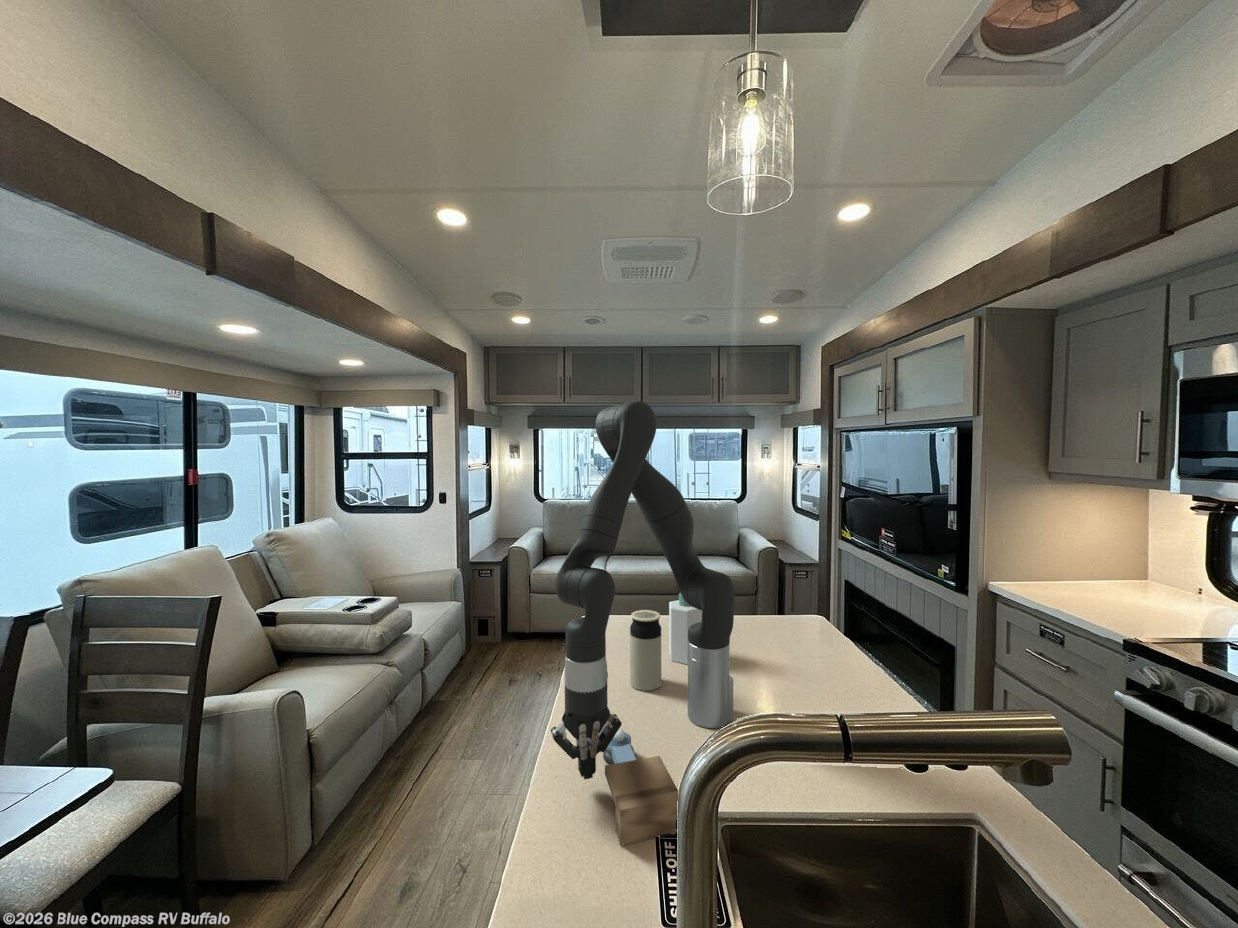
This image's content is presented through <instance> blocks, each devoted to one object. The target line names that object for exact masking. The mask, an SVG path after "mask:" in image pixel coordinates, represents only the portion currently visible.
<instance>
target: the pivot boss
mask: <svg viewBox="0 0 1238 928" xmlns="http://www.w3.org/2000/svg"><path fill="white" fill-rule="evenodd" d="M631 748H632V751H633V753H634V754H635V751H634V747H633V745H632V744H631ZM602 754H603V755H602V757H603V761H605V763H606V764H607V765H610V764H614V761H613V758H612V756H611V755H609V754H608V753H607V752H606V750H605V751H604V752H602Z"/></svg>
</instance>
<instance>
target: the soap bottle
mask: <svg viewBox="0 0 1238 928" xmlns="http://www.w3.org/2000/svg"><path fill="white" fill-rule="evenodd" d="M701 621H702V611H701V610H699V609H697V608H694V607H692V606H690V605H689V604H688V603H687V602H686V601H685V600H684V599H683V597H682V595H681V593H680V592H679V593H678V600H673V601H669V603H668V625H669V626H668V633H669V635H668V643H669V644H668V645H669V646H668V647H669V649H668V653H669V659H670V661H672V662H675V663H679V664H684V665H687V666H688V629H689V627H690V626H691V625H693V624H695V623H699V622H701Z"/></svg>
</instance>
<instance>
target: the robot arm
mask: <svg viewBox="0 0 1238 928" xmlns="http://www.w3.org/2000/svg"><path fill="white" fill-rule="evenodd" d="M657 423H658V422H657V416H656V414H655V412H654V410H653V409H652V407H651V406H650V405H649V404H648V403H646V402H644V401H640V400H633V401H628V402H624V403H620V404H616V405H612V406H609V407H606V408H604V409H602V410H600V412H598V414H597V416H596V419H595V430H596V435H597V439H598V440H599V441H598V442H599V443H600V445H601V446H602V449H603V450H604V451H605V452H606V454H607V455H608V458H610V460H611V462H612V464H611V466H610V468H609V470H608V471H607V473H606V474H605V476H604V477H603V478H602V480H601V482H600V484H599V485H598V486H597V488H596V489H595V491H594V492H593V494H592V496H591V498H590V499H589V501H588V504H587V506H586V508H585V512H584V515H583V519H582V522H581V525H580V530H579V533H578V537H577V539H576V540H575V542H574V544H573V546H572V547H571V549H570V551H569V552H568V554H567V556H566V558H565V559H564V561H563V563H562V565H561V566H560V568H559V570H558V572H557V576H556V579H555V591H556V596H557V598H558V599H559V600H560V602H562V603H564V604H565V605H570V606H573V607H578V608H582V609H584V616H583V617H581V616H580V617H575V618H573V619H571V620H570V621H569V622H568V623H567V625H566V627H565V660H564V712H563V715H562V717H561V721H562V722H561V723H559V724H558V726H553V727H552V728H551V729H550V734H551V737H552V740H553V741H554V742H555V744H557V745H558V746H559V748H560V749H562V751H564V752H565V754H566V755H567V756H568V757H569V758H571V759H572V760H575V759H577V765H578V767H577V768H578V769H577V770H578V772H579V774H580V777H581V778H583V780H588V779H593V778H594V777H593V776H594V775H595V773H596V772H597V759H596V758H597V755H598V754H599V753H603V752H604V751H605V750H606V749H607V747H608V746H609V744H610V742H611V741H612V739H613V738H614V736H615V734H616V733H617V731H618V730H619V729H621V726H622V723H623V722H622V721H621V720H620V718H619V716H618V715H617V714H616V713H613V714H612V713H611V711H610V709H609V707H608V705H609V704H608V698H609V697H608V678H609V673H608V663H607V662H608V661H607V655H606V652H607V651H606V650H607V643H606V637H607V636H606V631H607V627H608V622H609V619H610V615H611V611H612V606H613V603H614V599H615V596H616V595H615V594H616V585H615V581H614V578H613V576H612V575H611V574H610V572H609V571H607V570H606V569H602V568H598V567H593V564H594V562H595V561H596V559H599V558H603V557H604V558H605V557H609V556H612V555H613V554H614V552H615V550H616V548H617V543H618V539H619V537H620V532H621V527H622V524H623V520H624V516H625V512H626V508H627V506H628V503H629V499H630V497H631V495H632V496H633V498H634V500H635V502H636V503H637V505H638V507H639V509H640V511H641V514H642V515H643V518H644V520H645V522H646V523H647V525H648V527H649V529H650V531H651V533H652V534H653V536H654V538H655V540H656V542H657V544H658V546H659V548H660V550H661V551H662V553H663V555H664V557H665V559H666V561H667V562H668V565H669V567H670V569H671V573H672V574H673V577H674V581H675V583H676V585H677V587H678V590H679V593H681V595H682V597H683V599H684V600H685V601H686V602H687V603H688V604H689V605H690V606H692V607H694V608H697V609H699V610H701V611H702V621H701V622H699V623H695V624H693V625H691V626H690V627H689V629H688V665H687V717H688V719H689V720H690V721H691V722H692V723H693V724H695V725H697V726H699V727H702V728H707V729H718V728H722V727H724V726H726V725H727V724H728V723H729V722H733V721H734V678H733V677H732V676H731V675H730V674H731V673H730V669H731V668H730V667H731V665H730V663H731V662H730V661H731V659H730V655H731V654H730V649H731V648H730V647H731V646H730V645H731V643H730V642H731V641H730V640H731V635H732V632H733V628H734V616H735V602H736V601H735V600H736V599H735V598H736V595H735V594H736V593H735V592H736V591H735V586H734V585H735V584H734V581H733V580H732V578H731V577H730V576H729V575H727V574H725V573H723V572H720V571H718V570H713V569H710V568H707V567H705V565H704V564H703V563H702V562H701V560H700V558H699V556H698V554H697V553H696V552H697V551H696V550H695V548H694V544H693V538H694V519H693V516H692V512H691V511H690V509H689V508H690V507H688V505H687V503H686V500H685V499H684V496H683V495H682V493H681V491H680V490H679V489H678V487H676V486H675V485H674V483H673V482H671V481H670V480H669V479H668V478H667V477H665V476H664V475H663V474H662V473H661V472H660V471H658V469H656V468H655V467H654V466H653V465H652V464H651V463H650V462H649V461H648V460H647V456H648V455H649V452H650V449H651V447H652V444H653V442H654V439H655V438H656V437H655V436H656V433H657ZM566 730H567V731H568V732H569V734H570V735H571V736H572V737H573V738H574V739H575V742H576V745H574V744H573V743H572V742H571V741H570V740H569V739H568V738H567V735H568V733H567V732H566Z"/></svg>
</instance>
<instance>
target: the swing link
mask: <svg viewBox="0 0 1238 928" xmlns="http://www.w3.org/2000/svg"><path fill="white" fill-rule="evenodd" d="M631 745H632V737H631V735H630V734H629V733H627V732H625V731H624V730H623V729H621V728H619V730H618V731H617V733H616V734H615V736H614V738H613V739H612V741H611V742H610V744H609V746H608V747H607V749H606V752H607V753H608V754H609V755H611V756H612V758H613V761H614V764H616V763H621V762H627V761H633V760H637V759H636V755H635V752H634V753H633V751H632V748H631Z"/></svg>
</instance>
